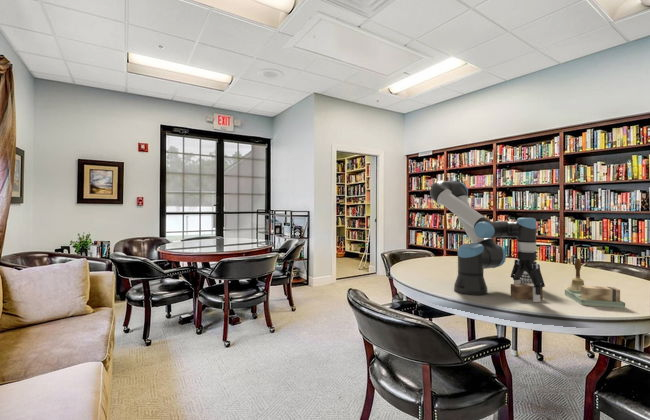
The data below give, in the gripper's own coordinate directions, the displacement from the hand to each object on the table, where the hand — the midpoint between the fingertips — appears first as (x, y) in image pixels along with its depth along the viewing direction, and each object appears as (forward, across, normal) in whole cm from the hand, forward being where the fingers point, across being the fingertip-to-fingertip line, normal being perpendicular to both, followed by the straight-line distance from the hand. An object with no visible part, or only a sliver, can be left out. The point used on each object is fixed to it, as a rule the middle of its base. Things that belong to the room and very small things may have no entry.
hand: (526, 297), depth 146 cm
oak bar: (-1, -10, -25) cm, 27 cm away
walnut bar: (0, 0, 0) cm, 0 cm away
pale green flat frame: (0, -5, -27) cm, 27 cm away
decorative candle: (0, +21, -15) cm, 26 cm away
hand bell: (0, +13, -35) cm, 38 cm away
